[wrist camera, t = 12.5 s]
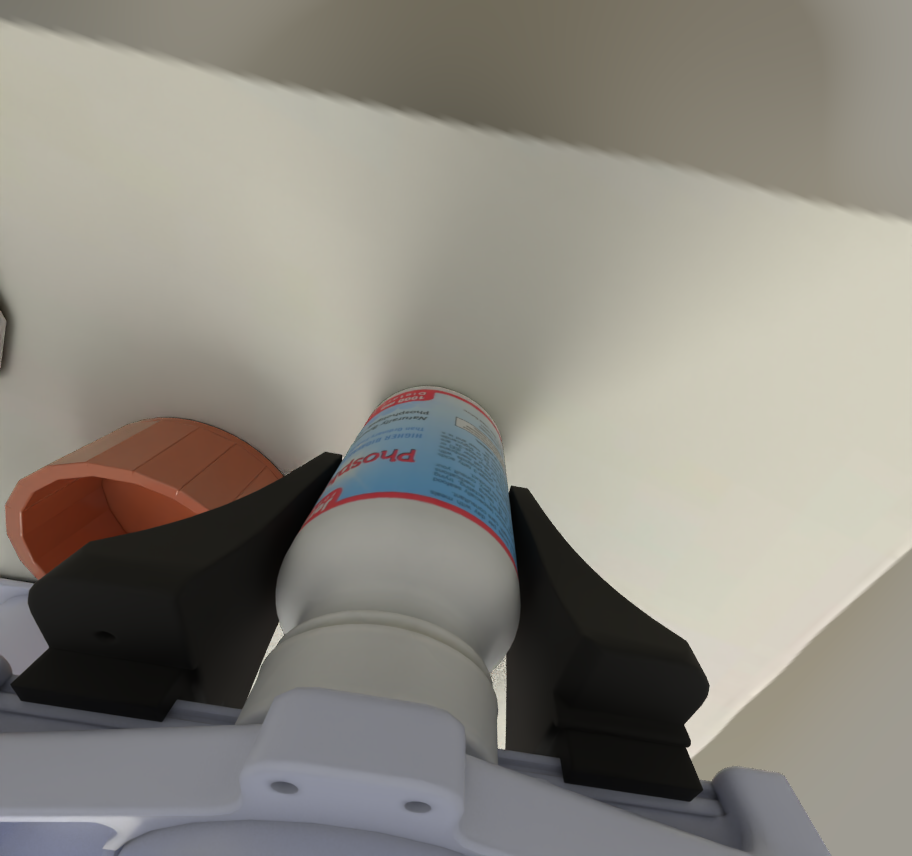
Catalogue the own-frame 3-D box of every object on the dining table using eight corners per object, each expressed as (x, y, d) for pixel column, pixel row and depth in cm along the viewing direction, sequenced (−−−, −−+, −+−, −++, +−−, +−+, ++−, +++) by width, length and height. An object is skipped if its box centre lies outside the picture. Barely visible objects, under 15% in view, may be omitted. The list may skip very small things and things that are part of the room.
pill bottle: (412, 352, 14) (259, 603, 4) (530, 434, 16) (629, 772, 6) (342, 457, 17) (136, 777, 7) (450, 520, 18) (417, 867, 8)
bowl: (304, 591, 21) (269, 660, 17) (125, 561, 20) (52, 626, 17) (302, 439, 16) (255, 492, 13) (71, 397, 16) (-42, 439, 12)
